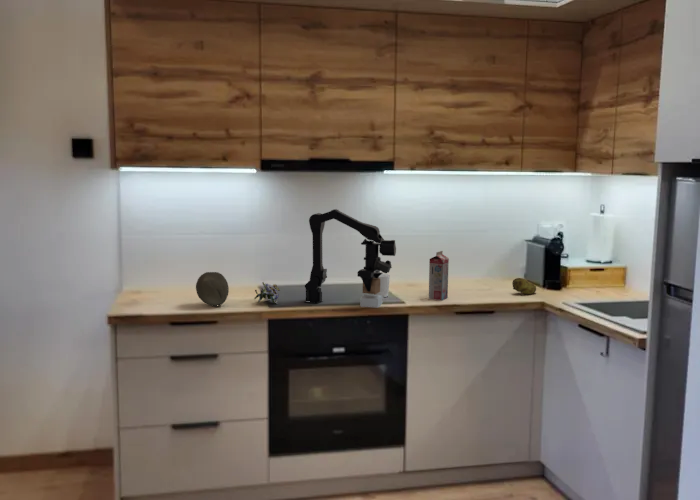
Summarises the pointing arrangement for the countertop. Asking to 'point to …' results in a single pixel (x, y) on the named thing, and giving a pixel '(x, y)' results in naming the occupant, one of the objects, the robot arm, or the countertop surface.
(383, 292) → the white cup
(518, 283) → the potato
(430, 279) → the juice carton
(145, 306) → the countertop surface
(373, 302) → the riser block
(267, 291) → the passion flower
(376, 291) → the walnut cube
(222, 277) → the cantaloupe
